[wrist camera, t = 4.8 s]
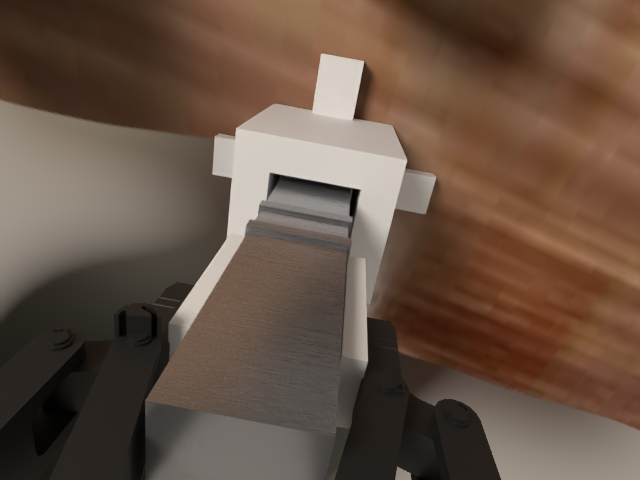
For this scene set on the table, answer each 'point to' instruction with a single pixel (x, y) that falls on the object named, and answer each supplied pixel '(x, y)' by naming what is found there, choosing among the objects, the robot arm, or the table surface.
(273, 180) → the housing
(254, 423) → the post
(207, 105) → the table surface
